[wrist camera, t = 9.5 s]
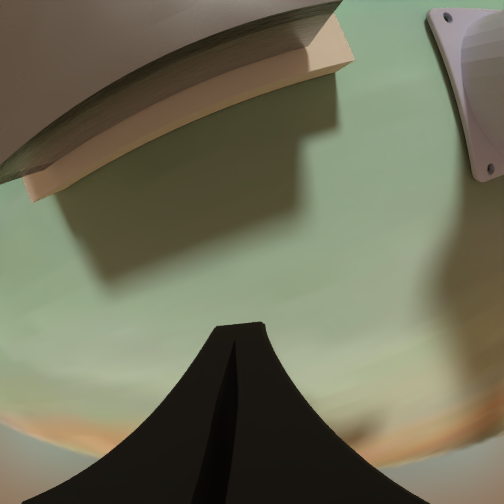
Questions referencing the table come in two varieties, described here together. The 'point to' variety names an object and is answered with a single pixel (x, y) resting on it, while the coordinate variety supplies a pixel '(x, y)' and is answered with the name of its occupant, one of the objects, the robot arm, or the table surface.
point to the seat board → (195, 107)
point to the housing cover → (123, 62)
